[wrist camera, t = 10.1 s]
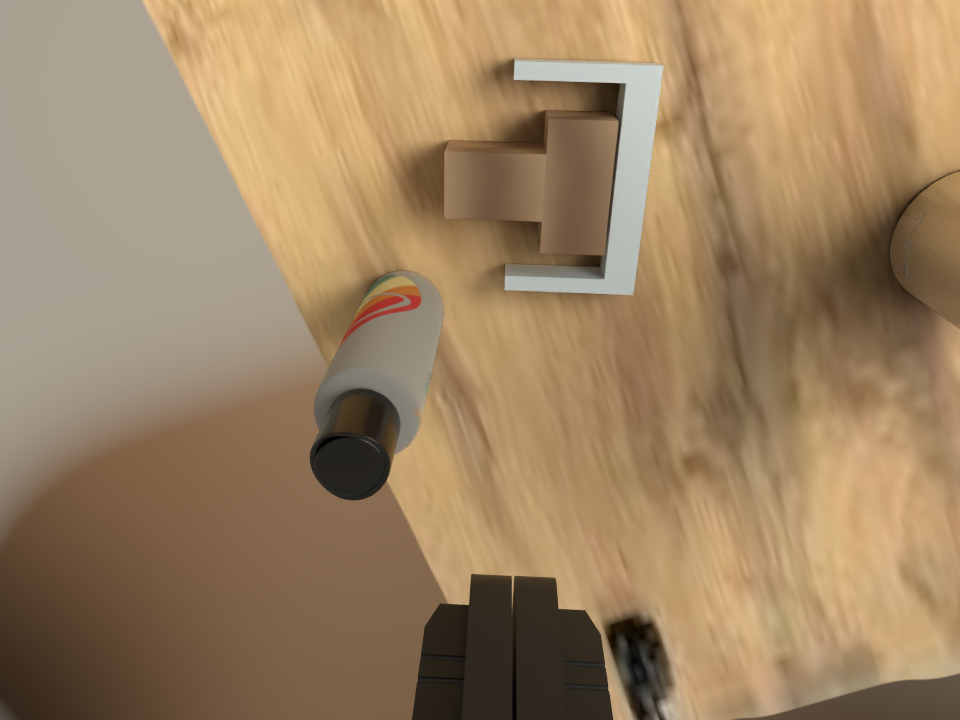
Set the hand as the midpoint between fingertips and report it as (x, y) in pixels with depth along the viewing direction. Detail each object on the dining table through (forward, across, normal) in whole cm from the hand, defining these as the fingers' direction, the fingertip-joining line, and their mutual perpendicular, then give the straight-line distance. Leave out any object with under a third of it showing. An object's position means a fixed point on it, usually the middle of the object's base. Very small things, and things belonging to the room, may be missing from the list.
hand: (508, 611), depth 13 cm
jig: (+37, -5, 0) cm, 37 cm away
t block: (+37, -1, 0) cm, 37 cm away
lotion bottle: (+37, +7, +10) cm, 39 cm away
